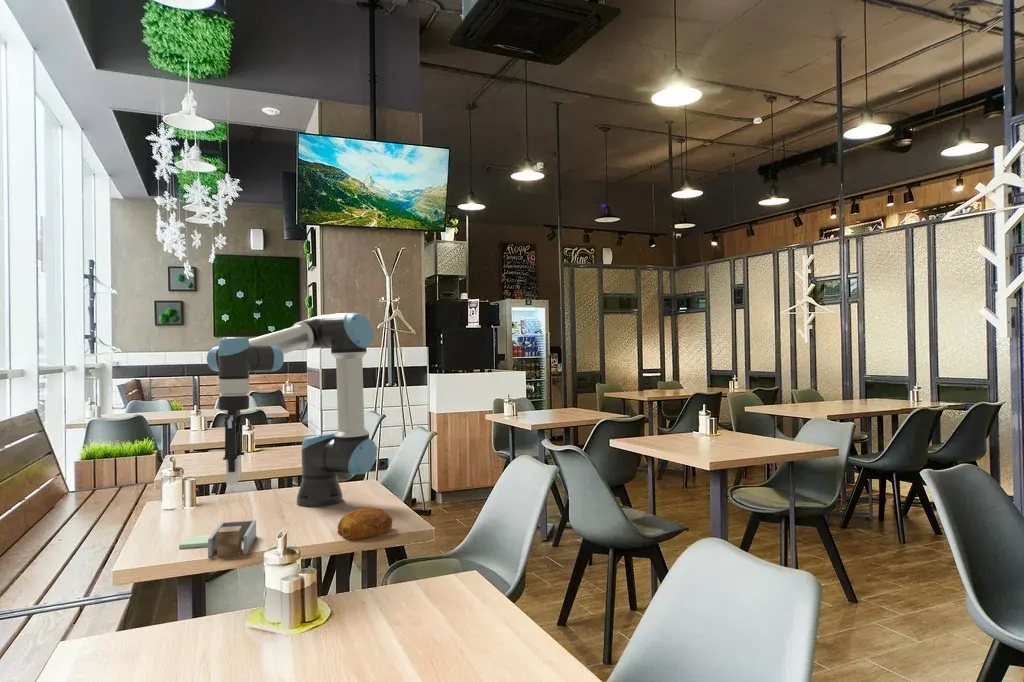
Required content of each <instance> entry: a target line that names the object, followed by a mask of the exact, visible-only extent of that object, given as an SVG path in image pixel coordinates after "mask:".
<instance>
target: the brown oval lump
mask: <svg viewBox="0 0 1024 682" xmlns="http://www.w3.org/2000/svg"><path fill="white" fill-rule="evenodd" d="M392 526H393V519H392V517H391V515H390V514H389V513H387V512H386V511H385V510H383V509H382V508H378V507H371V506H370V507H366V506H365V507H361V508H359V509H355V510H353V511H350V512H348V513H345V515H343V516H342V517H341V519H340V520H339V522H338V523H337V533H338V534H339V535H340V536H342V537H343V538H345V539H350V540H362V539H365V538H370V536H371V537H375V536H377V535H381V534H384V533H386V532H388V531H390V530H391V529H392ZM374 535H375V536H374Z"/></svg>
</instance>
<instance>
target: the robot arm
mask: <svg viewBox="0 0 1024 682" xmlns="http://www.w3.org/2000/svg"><path fill="white" fill-rule="evenodd" d="M373 340H374V328H373V325H372V322H371V321H370V319H369V318H368V316H366V315H365V314H362V313H360V312H344V313H343V312H341V313H326V314H325V313H324V314H320V315H316V316H314V317H309V318H307V319H304V320H301V321H299V322H298V321H297V322H295V323H294V324H293V325H292V326H291V327H288V328H284V329H282V330H278V331H273V332H271V333H267V334H263V335H260V336H256V337H253V338H249V339H248V338H247V337H237V336H236V337H222V338H220V339H219V342H218V343H219V344H218V345H217V346H213V347H212V348H211V349H209V351H208V352H207V355H206V363H207V365H208V368H209V369H211V371H214V372H218V382H216V387H218V394H220V396H219V397H218V409H219V410H220V411H227V416H225V417H224V457H222V460H224V461H226V465H225V466H226V467H225V468H226V475H225V476H226V481H225V482H226V483H225V484H226V485H225V486H228V485H239V481H242V456H245V451H243V450H244V449H243V421H244V418H243V417H244V416H243V415H241V411H243V410H248V409H249V408H250V396H249V395H248V394H249V393H250V373H263V372H264V373H271V372H276V371H278V370H280V369H281V368H282V367H283V364H284V358H285V356H284V355H285V354H288V353H290V352H294V351H297V350H301V351H307V350H310V349H319V348H320V349H322V348H323V349H324V348H325V349H327V348H328V349H330V352H331V353H330V354H331V355H332V356H333V357H334V358H335V364H336V367H335V368H336V398H337V400H336V401H337V402H336V403H337V405H336V406H337V427H338V428H337V431H335V433H334V432H333V433H326V434H317V435H311V436H305V437H304V438H303V440H302V441H301V442H302V443H301V445H302V446H301V483H300V486H299V489H298V492H297V496H296V504H297V505H298V506H303V507H324V506H330V505H336V504H339V503H341V502H342V501H343V492H342V489H341V486H340V483H339V480H338V474H348V475H353V476H355V475H363V474H366V473H368V472H370V470H371V469H372V467H373V466H374V464H375V463H376V460H377V455H378V454H377V453H378V448H377V445H376V442H375V441H374V440H372V439H370V433H369V431H368V430H367V428H366V427H365V409H364V408H365V407H364V406H365V405H364V376H363V375H364V373H363V372H364V371H363V357H364V356H365V355H366V354H367V353H368V352H367V351H368V350H367V349H368V347H370V346H371V345H372V343H373V342H372V341H373Z"/></svg>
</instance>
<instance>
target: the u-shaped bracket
mask: <svg viewBox="0 0 1024 682" xmlns="http://www.w3.org/2000/svg"><path fill="white" fill-rule="evenodd" d="M232 526H242V539H243V555H247V554H248V553H249V551H250V549H251V547H252V545H253V544H254V541H255V539H256V537H257V519H251V520H238V521H236V520H235V521H223V522H220V523H219V524H218V525H217V527H216V528H215V530H213V532H212V533H211V534H210V535H211V536H210V537H209V539H208V547H207V557H208V558H212V557H213V556H214V554H215V553H216V551H217V532H218V531H219V529H220V528H221V527H232Z"/></svg>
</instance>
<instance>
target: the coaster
mask: <svg viewBox="0 0 1024 682" xmlns="http://www.w3.org/2000/svg"><path fill="white" fill-rule="evenodd" d="M211 535H212V534H205V535H194V536H193V535H192V536H186V537H184V539H183V540H182V541H180V543H179V545H178V549H180V550H182V549H194V548H205V547H206V548H208V539H209V537H210V536H211Z"/></svg>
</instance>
